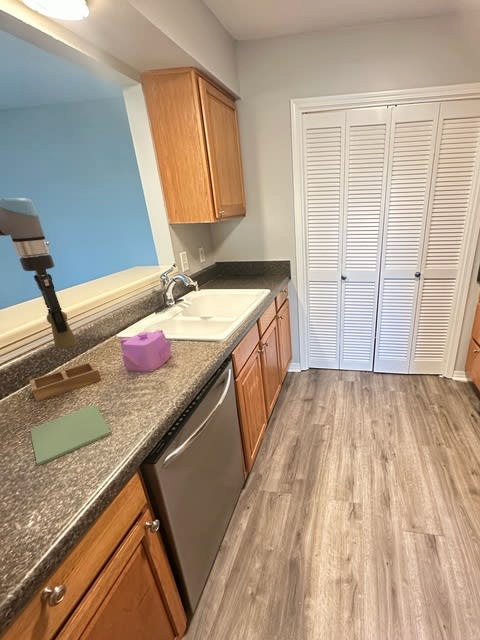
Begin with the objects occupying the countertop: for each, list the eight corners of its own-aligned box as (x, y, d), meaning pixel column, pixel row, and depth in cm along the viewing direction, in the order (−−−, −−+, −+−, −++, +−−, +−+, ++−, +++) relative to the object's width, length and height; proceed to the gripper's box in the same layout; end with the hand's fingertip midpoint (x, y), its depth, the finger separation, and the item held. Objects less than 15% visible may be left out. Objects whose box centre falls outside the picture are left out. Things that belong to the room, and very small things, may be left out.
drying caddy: (33, 390, 109) (29, 380, 108) (94, 370, 120) (91, 361, 119) (36, 401, 102) (32, 391, 101) (101, 380, 113) (98, 370, 112)
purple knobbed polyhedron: (167, 349, 135) (160, 321, 130) (178, 364, 122) (171, 334, 117) (122, 361, 126) (113, 332, 121) (128, 379, 113) (119, 347, 108)
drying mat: (30, 430, 89) (29, 428, 88) (96, 406, 98) (95, 403, 98) (37, 466, 76) (36, 463, 76) (111, 433, 86) (111, 431, 86)
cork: (64, 349, 102) (52, 316, 97) (50, 347, 103) (38, 314, 99) (81, 341, 107) (71, 309, 103) (68, 339, 109) (57, 308, 104)
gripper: (55, 256, 90) (80, 333, 99) (46, 251, 103) (69, 320, 112) (21, 260, 86) (51, 340, 95) (16, 254, 98) (43, 326, 107)
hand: (61, 329), depth 103 cm, fingers closed on cork, 5 cm apart
